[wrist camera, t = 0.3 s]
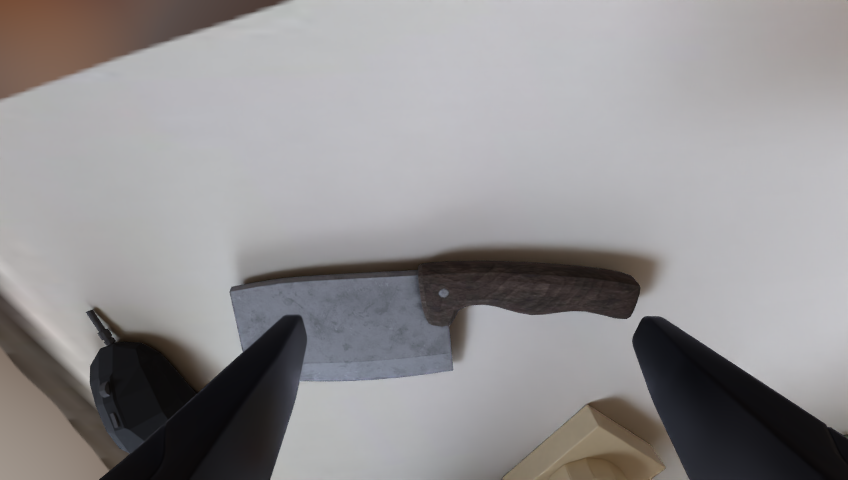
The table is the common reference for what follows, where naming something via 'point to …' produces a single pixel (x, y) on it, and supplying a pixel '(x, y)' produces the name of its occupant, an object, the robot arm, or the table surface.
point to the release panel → (590, 453)
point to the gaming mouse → (134, 389)
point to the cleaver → (416, 310)
